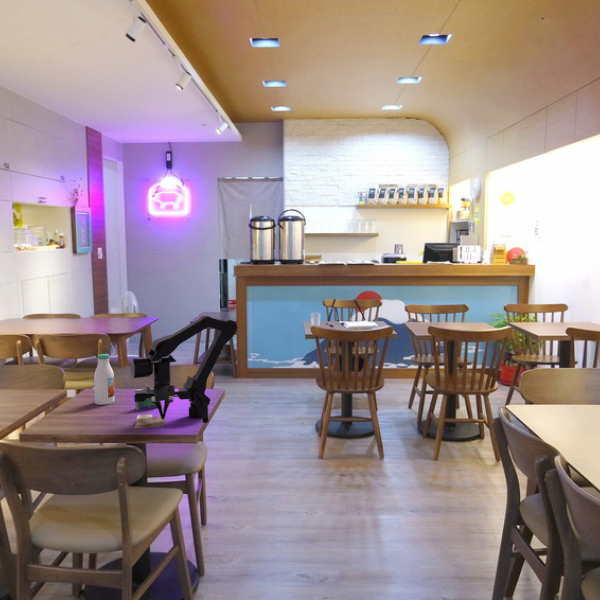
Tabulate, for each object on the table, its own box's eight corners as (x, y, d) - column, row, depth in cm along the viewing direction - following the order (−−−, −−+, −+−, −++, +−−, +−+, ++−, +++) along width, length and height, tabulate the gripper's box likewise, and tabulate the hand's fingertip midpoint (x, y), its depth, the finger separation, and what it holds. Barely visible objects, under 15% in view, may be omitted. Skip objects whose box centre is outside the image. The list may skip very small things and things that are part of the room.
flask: (135, 413, 213) (134, 386, 212) (135, 411, 215) (134, 384, 215) (160, 411, 215) (159, 384, 215) (159, 409, 218) (159, 382, 218)
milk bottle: (102, 406, 224) (100, 356, 222) (91, 403, 228) (89, 354, 227) (118, 402, 230) (117, 354, 228) (107, 399, 235) (106, 352, 233)
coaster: (152, 420, 199) (152, 414, 199) (151, 424, 194) (151, 418, 194) (137, 421, 198) (137, 415, 198) (136, 425, 193) (136, 419, 193)
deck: (165, 420, 203) (165, 416, 203) (164, 430, 191) (164, 426, 191) (137, 422, 201) (136, 418, 201) (134, 432, 189) (134, 428, 189)
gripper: (132, 381, 186) (133, 427, 187) (189, 378, 190) (190, 423, 191) (135, 374, 197) (136, 418, 198) (189, 372, 201) (189, 415, 202)
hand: (163, 419), depth 197 cm, fingers closed
